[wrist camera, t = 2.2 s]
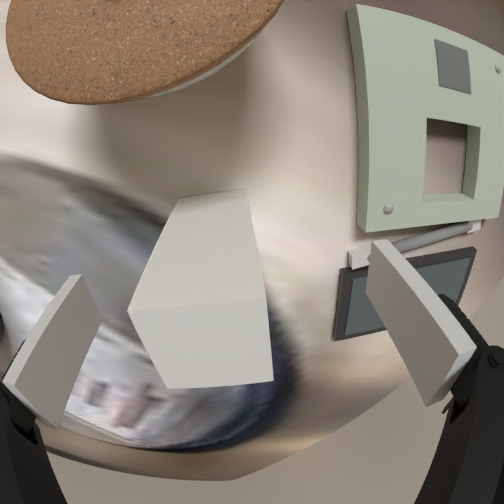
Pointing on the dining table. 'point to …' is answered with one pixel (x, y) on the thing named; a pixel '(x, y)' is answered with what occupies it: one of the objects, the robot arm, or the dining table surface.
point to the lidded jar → (127, 44)
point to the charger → (205, 297)
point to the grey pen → (415, 241)
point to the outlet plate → (423, 118)
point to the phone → (430, 269)
